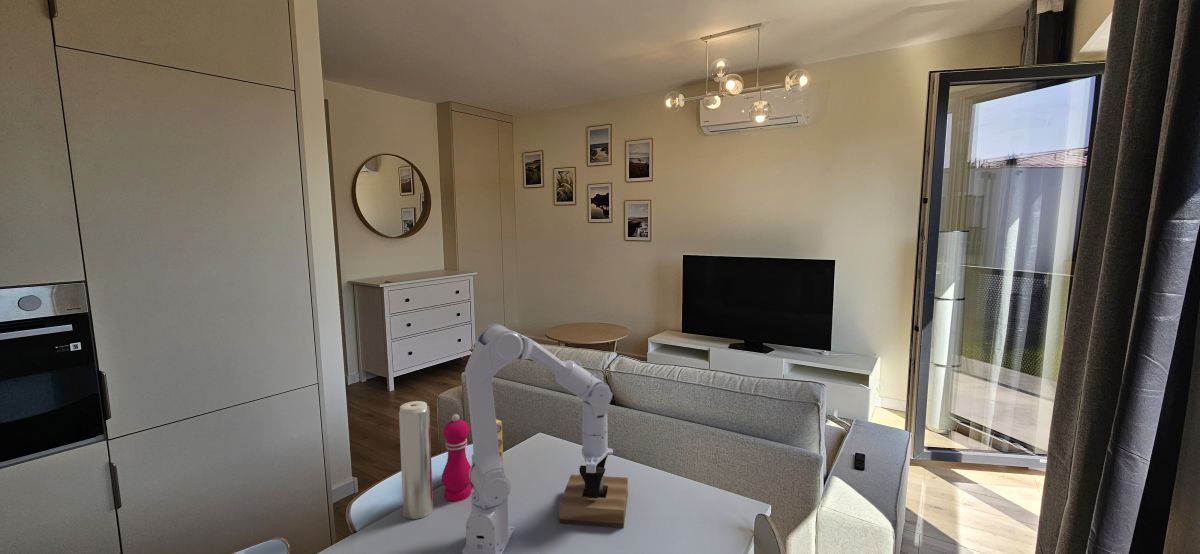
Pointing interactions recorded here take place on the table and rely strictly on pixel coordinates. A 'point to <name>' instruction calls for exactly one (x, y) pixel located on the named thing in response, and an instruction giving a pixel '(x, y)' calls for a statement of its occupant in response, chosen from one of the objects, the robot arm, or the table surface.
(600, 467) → the pin
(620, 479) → the bore block
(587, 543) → the table surface
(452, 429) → the pepper mill
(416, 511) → the silver cream cylinder
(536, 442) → the table surface
